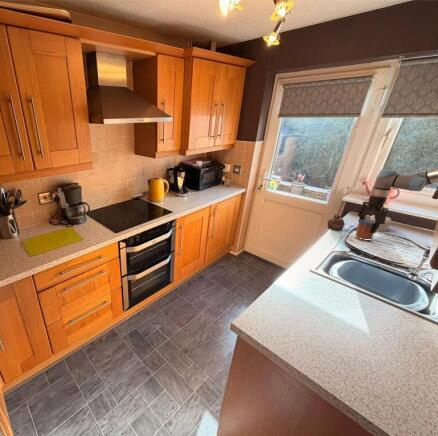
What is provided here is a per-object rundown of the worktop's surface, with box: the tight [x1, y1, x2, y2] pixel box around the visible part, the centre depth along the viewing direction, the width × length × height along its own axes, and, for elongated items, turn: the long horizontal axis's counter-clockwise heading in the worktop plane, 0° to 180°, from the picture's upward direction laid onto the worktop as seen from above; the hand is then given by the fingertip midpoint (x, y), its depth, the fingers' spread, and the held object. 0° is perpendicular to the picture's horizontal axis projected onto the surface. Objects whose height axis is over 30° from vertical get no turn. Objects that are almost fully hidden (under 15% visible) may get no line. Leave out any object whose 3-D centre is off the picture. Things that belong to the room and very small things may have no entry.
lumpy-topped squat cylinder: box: [369, 214, 392, 232], centre depth 162 cm, size 10×13×9 cm
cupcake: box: [327, 214, 346, 232], centre depth 162 cm, size 10×10×10 cm
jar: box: [354, 223, 375, 242], centre depth 147 cm, size 8×8×12 cm
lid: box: [360, 218, 375, 227], centre depth 145 cm, size 8×8×2 cm
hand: (366, 229), depth 147 cm, fingers open, 8 cm apart
